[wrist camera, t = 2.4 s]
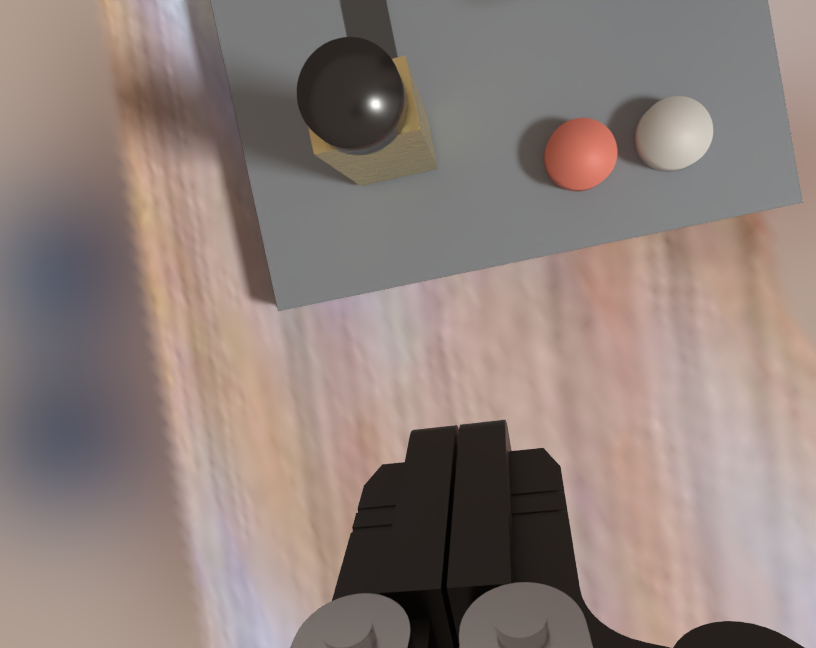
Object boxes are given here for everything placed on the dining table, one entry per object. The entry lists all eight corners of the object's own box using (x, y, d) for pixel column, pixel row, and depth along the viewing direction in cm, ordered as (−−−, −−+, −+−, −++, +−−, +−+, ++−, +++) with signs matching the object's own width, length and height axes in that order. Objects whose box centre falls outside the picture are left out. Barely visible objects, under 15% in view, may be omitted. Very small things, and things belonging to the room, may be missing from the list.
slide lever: (425, 107, 31) (395, 23, 21) (440, 177, 32) (417, 130, 21) (348, 125, 32) (280, 52, 21) (363, 195, 32) (302, 157, 21)
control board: (706, -235, 31) (731, -292, 28) (783, 206, 32) (815, 199, 29) (203, -92, 34) (174, -129, 31) (289, 308, 35) (270, 312, 32)
